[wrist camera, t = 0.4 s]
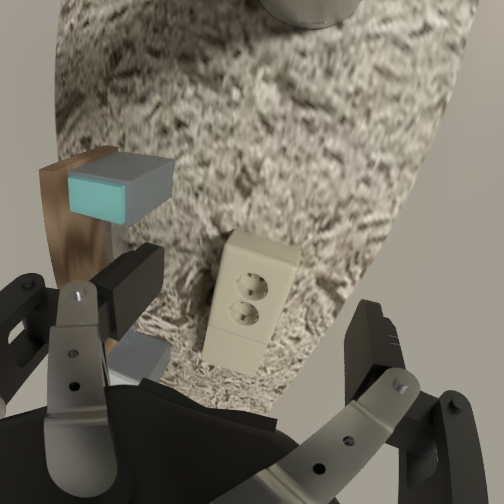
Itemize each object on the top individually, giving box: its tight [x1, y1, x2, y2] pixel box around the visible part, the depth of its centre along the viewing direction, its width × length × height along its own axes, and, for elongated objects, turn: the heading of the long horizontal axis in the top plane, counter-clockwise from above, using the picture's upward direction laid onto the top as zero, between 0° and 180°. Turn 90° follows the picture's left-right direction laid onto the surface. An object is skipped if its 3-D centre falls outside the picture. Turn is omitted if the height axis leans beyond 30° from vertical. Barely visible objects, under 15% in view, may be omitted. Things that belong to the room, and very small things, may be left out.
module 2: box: [107, 331, 170, 385], centre depth 40 cm, size 4×7×9 cm, turn 81°
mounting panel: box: [39, 145, 118, 355], centre depth 33 cm, size 31×2×10 cm, turn 171°
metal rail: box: [100, 219, 137, 346], centre depth 36 cm, size 22×2×4 cm, turn 171°
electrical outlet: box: [201, 229, 301, 377], centre depth 34 cm, size 7×4×18 cm
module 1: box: [68, 151, 174, 227], centre depth 27 cm, size 4×7×9 cm, turn 81°
